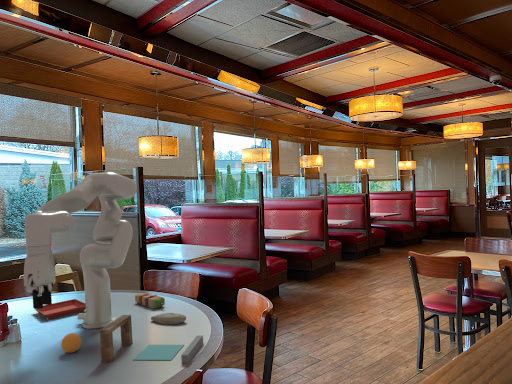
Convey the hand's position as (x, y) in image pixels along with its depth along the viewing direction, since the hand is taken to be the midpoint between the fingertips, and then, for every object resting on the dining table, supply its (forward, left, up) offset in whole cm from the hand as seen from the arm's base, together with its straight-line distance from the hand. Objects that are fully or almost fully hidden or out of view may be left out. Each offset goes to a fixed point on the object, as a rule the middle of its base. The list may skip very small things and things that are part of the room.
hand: (42, 305), depth 137 cm
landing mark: (+40, 0, -15) cm, 42 cm away
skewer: (+15, +53, -16) cm, 57 cm away
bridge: (+26, 0, -15) cm, 30 cm away
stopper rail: (+51, 0, -15) cm, 53 cm away
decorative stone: (+32, +30, -16) cm, 46 cm away
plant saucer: (-23, +44, -16) cm, 52 cm away
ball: (+10, 0, -12) cm, 16 cm away
